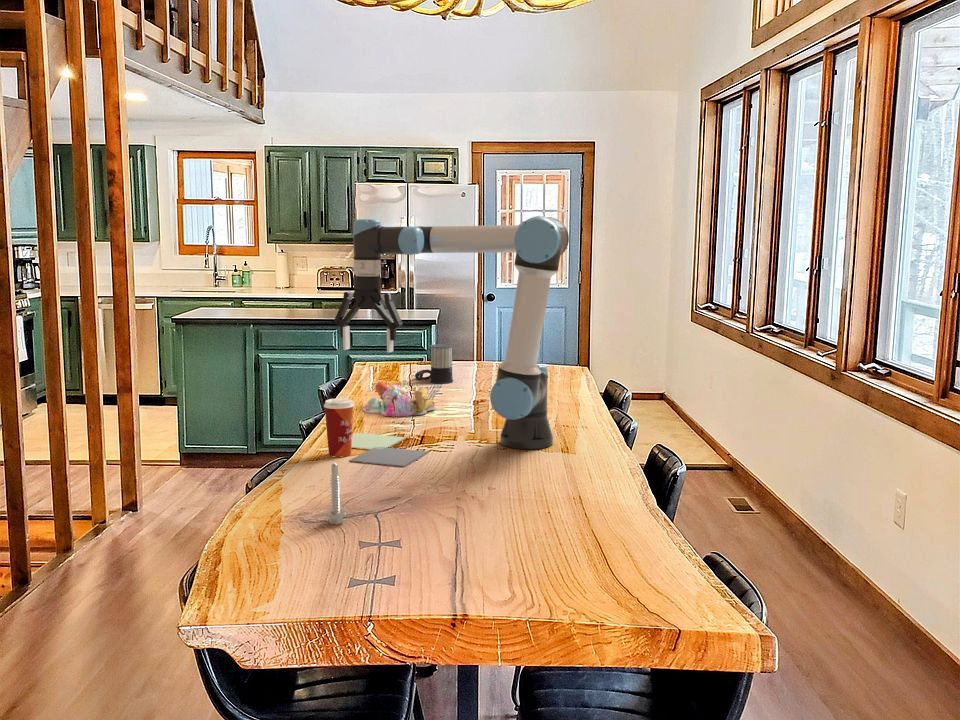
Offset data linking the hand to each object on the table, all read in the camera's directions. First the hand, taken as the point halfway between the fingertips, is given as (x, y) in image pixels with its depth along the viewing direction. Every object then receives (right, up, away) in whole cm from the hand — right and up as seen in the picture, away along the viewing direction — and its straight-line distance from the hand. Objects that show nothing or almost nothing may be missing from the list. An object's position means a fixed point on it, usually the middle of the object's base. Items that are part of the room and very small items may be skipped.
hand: (368, 350), depth 254 cm
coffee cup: (-7, -29, -8) cm, 30 cm away
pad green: (-1, -26, +6) cm, 27 cm away
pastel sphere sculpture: (+4, -20, +52) cm, 56 cm away
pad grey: (+7, -29, -11) cm, 32 cm away
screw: (+1, -37, -64) cm, 74 cm away
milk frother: (+13, -11, +109) cm, 111 cm away
